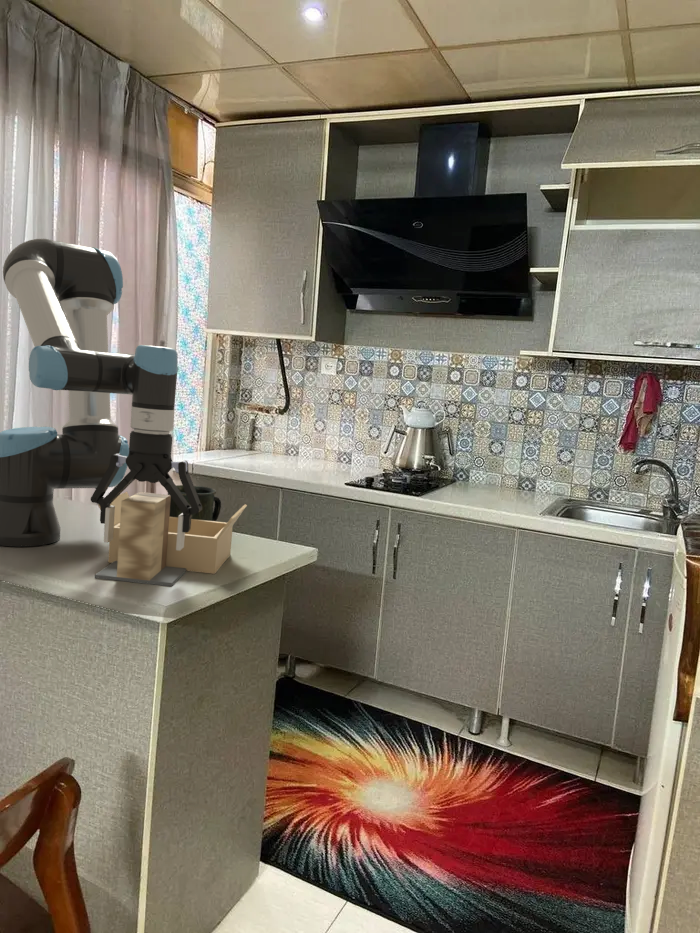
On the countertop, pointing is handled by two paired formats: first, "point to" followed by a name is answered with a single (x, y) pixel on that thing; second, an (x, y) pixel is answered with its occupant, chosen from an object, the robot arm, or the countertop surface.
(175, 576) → the mat
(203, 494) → the mug
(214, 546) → the carton
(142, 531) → the block
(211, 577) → the countertop surface
